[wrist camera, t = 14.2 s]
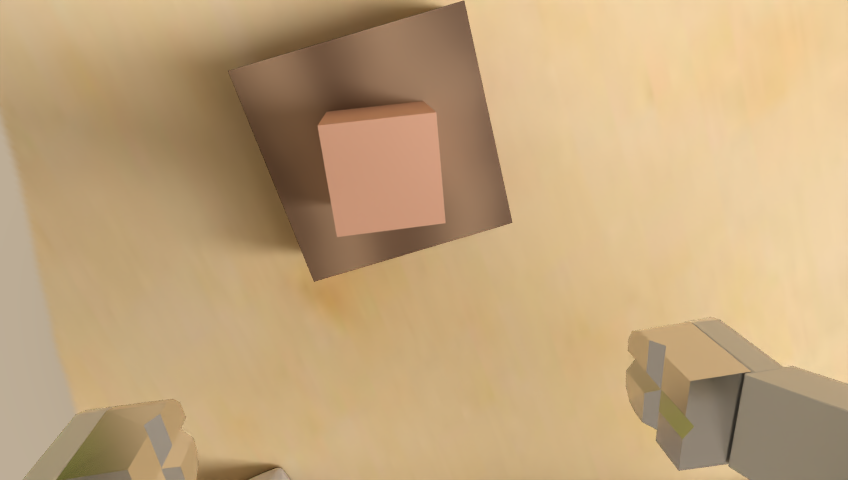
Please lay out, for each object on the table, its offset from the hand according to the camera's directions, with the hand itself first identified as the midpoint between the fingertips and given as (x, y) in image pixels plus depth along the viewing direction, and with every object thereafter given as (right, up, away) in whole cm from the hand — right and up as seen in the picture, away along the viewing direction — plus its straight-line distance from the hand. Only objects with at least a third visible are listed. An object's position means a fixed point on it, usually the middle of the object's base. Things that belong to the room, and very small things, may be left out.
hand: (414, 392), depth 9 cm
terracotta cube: (-2, +7, +17) cm, 19 cm away
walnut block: (-3, +9, +22) cm, 24 cm away
